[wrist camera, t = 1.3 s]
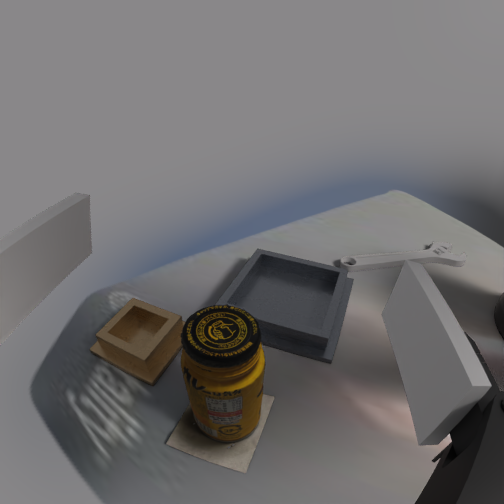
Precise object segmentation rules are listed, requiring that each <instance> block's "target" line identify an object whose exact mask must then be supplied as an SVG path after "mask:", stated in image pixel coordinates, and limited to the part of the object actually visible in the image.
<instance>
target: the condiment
mask: <svg viewBox="0 0 504 504" xmlns="http://www.w3.org/2000/svg"><path fill="white" fill-rule="evenodd" d="M180 336H181V344H182V347H183V350H182V355H181V368H182V372H183V377H184V381H185V384H186V389H187V392H188V396H189V400H190V403H189V405H188V407H187V408H186V410H185V412H184V413H183V415H182V417H181V419H180V421H179V422H178V424H177V426H176V428H175V430H174V431H173V433H172V434H171V436H170V438H169V440H168V442H167V443H166V444H167V445H169V446H172V447H174V448H176V449H178V450H181V451H183V452H185V453H188V454H191V455H193V456H195V457H198V458H201V459H203V460H206V461H209V462H211V463H215V464H218V465H221V466H224V467H227V468H229V469H233V470H236V471H240V472H243V473H246V471H247V469H248V466H249V464H250V461H251V459H252V456H253V453H254V451H255V448H256V446H257V443H258V441H259V438H260V436H261V433H262V431H263V428H264V425H265V423H266V420H267V417H268V415H269V412H270V409H271V406H272V403H273V401H274V398H275V397H274V396H270V395H266V394H263V380H264V379H263V378H264V370H265V357H264V351H263V349H262V345H261V330H260V328H259V323H258V321H257V320H256V319H255V318H254V317H253V316H252V315H251V314H250V313H248V312H247V311H245V310H243V309H241V308H237V307H234V306H229V305H227V304H226V305H214V306H210V307H207V308H203V309H201V310H199V311H197V312H196V313H194V314H193V315H191V316H190V317H189V318H188V319H187V321H186V322H185V324H184V326H183V329H182V333H181V335H180ZM232 444H235V446H232ZM229 446H231V448H227V447H229Z"/></svg>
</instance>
